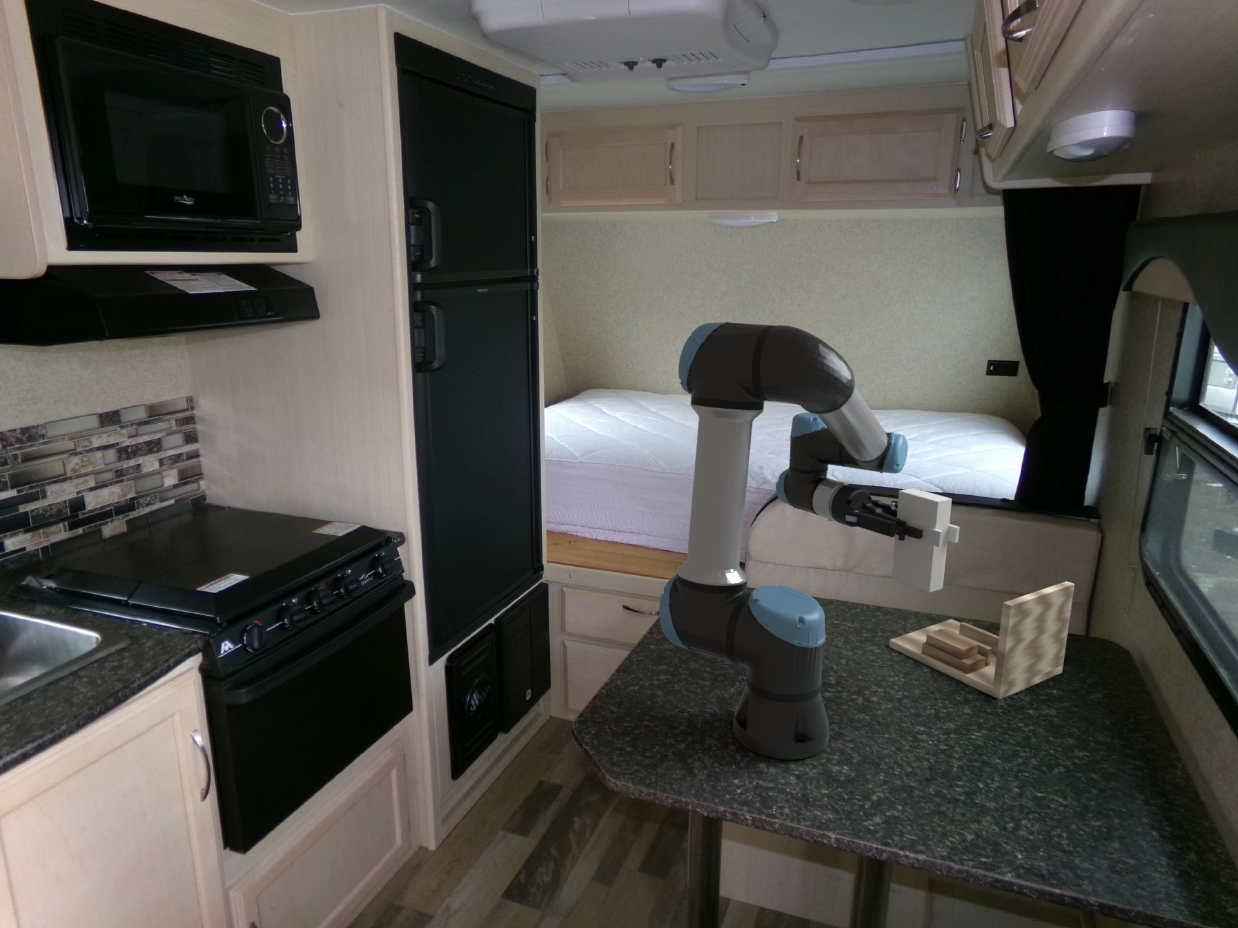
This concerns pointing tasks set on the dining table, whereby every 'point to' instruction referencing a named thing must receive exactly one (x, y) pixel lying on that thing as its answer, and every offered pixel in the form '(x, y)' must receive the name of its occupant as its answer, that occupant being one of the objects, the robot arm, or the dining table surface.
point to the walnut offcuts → (953, 651)
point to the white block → (915, 557)
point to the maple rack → (1008, 643)
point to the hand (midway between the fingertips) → (949, 537)
